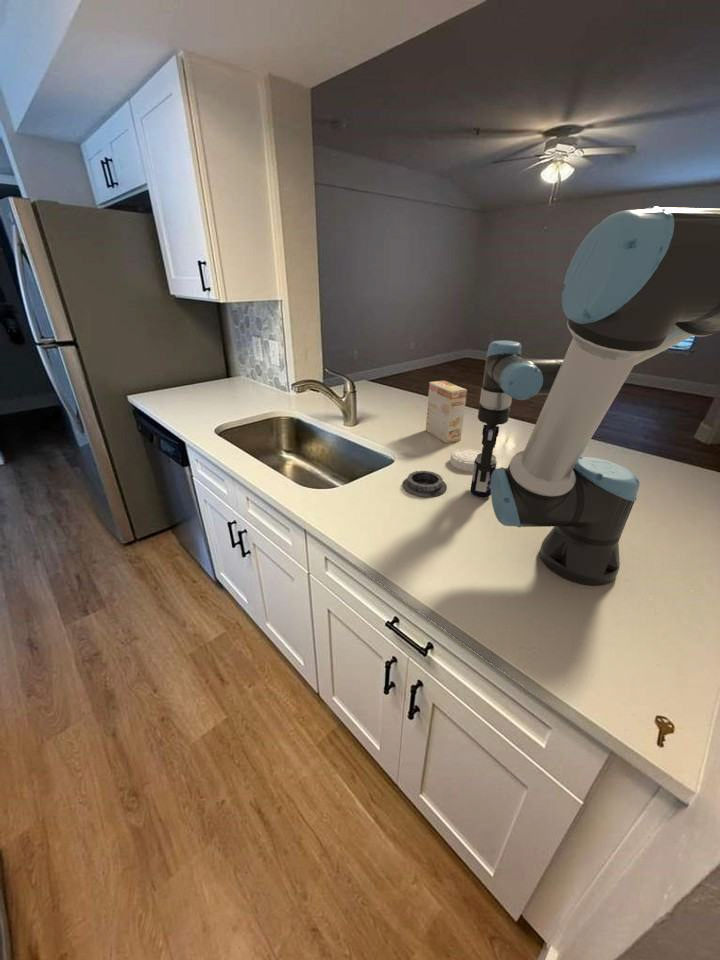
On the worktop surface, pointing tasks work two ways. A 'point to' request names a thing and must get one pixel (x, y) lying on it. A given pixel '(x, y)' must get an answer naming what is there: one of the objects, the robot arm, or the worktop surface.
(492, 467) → the beverage can
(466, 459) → the mooncake
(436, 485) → the ring collar
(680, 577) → the worktop surface
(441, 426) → the coffeecake box
